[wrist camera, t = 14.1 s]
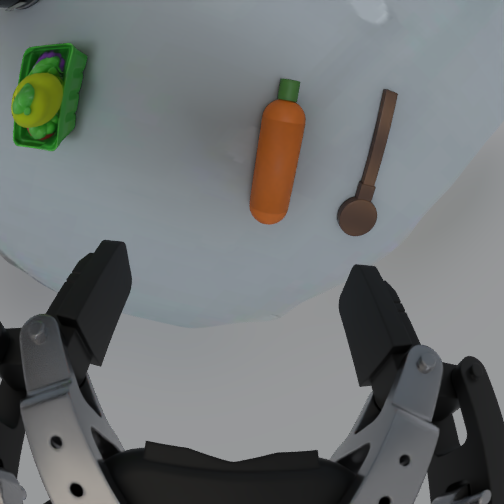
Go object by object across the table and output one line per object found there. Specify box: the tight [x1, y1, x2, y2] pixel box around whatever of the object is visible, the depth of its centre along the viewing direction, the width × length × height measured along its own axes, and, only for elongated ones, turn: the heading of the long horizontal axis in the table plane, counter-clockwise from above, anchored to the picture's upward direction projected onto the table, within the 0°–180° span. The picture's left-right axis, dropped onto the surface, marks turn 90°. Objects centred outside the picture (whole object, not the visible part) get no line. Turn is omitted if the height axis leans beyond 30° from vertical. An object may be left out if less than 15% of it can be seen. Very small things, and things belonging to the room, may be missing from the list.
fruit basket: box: [11, 43, 87, 151], centre depth 17 cm, size 11×9×11 cm
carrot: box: [250, 79, 306, 224], centre depth 25 cm, size 15×4×4 cm, turn 172°
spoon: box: [337, 89, 398, 236], centre depth 27 cm, size 18×5×1 cm, turn 173°
